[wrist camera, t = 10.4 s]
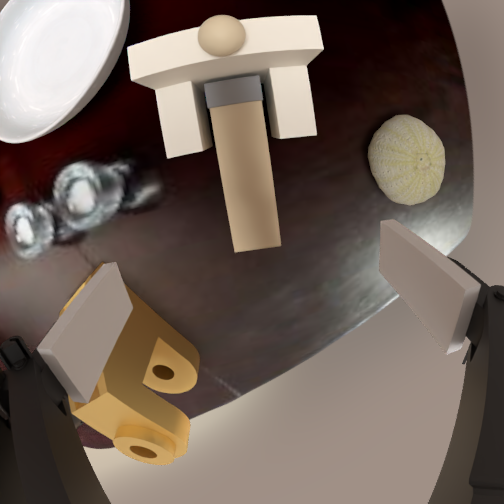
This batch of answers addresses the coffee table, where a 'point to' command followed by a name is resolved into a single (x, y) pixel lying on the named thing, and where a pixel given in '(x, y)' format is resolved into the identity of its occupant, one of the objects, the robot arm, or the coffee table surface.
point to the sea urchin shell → (407, 160)
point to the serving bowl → (55, 60)
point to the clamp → (142, 387)
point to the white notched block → (229, 74)
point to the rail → (244, 161)
